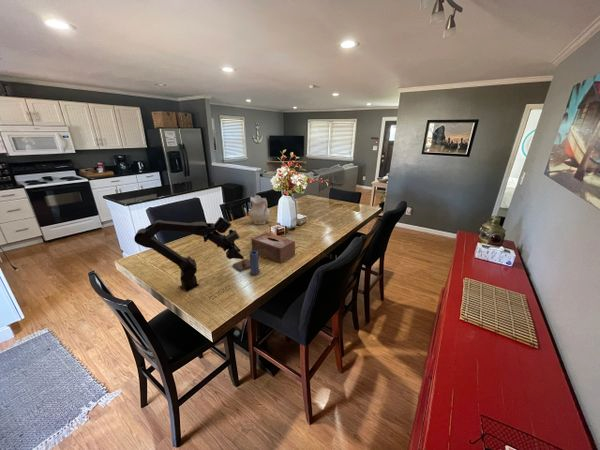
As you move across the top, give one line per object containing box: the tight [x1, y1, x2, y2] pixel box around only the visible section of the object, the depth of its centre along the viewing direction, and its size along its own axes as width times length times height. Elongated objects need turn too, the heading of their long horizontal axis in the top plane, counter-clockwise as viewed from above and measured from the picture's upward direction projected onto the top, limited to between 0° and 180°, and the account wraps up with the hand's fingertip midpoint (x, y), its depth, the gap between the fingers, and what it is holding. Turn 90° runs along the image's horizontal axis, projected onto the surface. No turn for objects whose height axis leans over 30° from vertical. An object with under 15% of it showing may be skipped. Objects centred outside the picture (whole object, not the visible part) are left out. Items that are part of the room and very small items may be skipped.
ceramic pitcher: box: [247, 194, 271, 225], centre depth 215 cm, size 22×20×25 cm
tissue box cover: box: [250, 231, 296, 264], centre depth 159 cm, size 26×14×10 cm, turn 54°
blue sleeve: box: [249, 250, 260, 276], centre depth 135 cm, size 5×5×13 cm
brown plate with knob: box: [232, 258, 251, 272], centre depth 144 cm, size 10×9×4 cm
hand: (241, 254), depth 131 cm, fingers open, 9 cm apart
